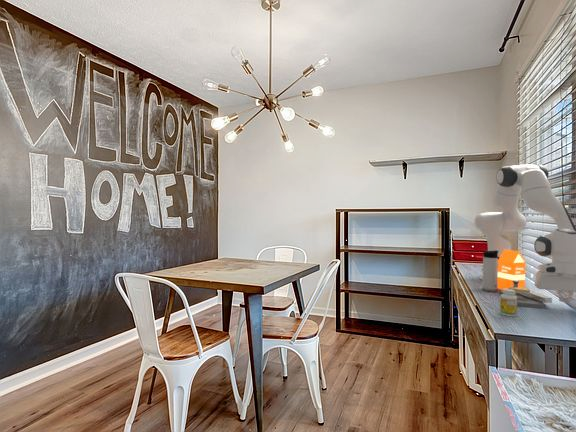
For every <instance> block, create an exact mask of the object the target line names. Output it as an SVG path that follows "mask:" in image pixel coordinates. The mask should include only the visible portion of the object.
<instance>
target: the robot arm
mask: <svg viewBox="0 0 576 432" xmlns="http://www.w3.org/2000/svg"><path fill="white" fill-rule="evenodd" d="M549 175H550V174H549V169H548V168H547V167H546V166H545V165H542V164H520V165H519V164H517V165H506V166H502V167H500V168H499V169H498V170H497V172H496V177H495V178H496V183H497V186H496V189H495V193H494V197H493V205H494V206H495V207H497V208H498V209H500V210H501V211H494V212H493V211H487V212H486V211H485V212H481V213H478V214H477V215H476V216H475V218H474V226H475V227H476V229H478V230H479V232H480V233H482V234H483V235H484V237H485V238H486V241H487V251H499V252H498V260H499V258H500V256H501V254H502V253H503V251H504V250H512V244H511V242H510V240H508V239H507V238H505V237H502V235H501V232H506V233H507V232H509V233H510V232H515V233H516V232H521V231H523V230H524V229H526V228H525V227H526V226H527V219H526V216H525V215H524V214H522V212H520V210H519V208H518V205H519V199H520V195H522V199H523V202H524V204H525V206H526V207H527V208H528V209H530V210H531V211H534V212H538V213H541V214H543V215H545V216H548V217H550V218H551V219H552V220H554V222H555V224H556V226H557V228H556V229H554V230H553V231H552V232H551V233H547V234H545V235H539V236H538V237H537V238H536V239H535V241H534V251H535V252H536V253H537V254H538V256H540V257H544V258H552V259H551V262H547V263H542V264H538V266H537V269H538V271H537V272H536V273H535V278H534V286H535V288H536V289H538V290H545V291H547V290H549V291H550V290H551V291H555V292H556V295H558V297H559V298H558V299H559V302H563V303H571V302H570V300H571V297H573V296H574V293H576V226H575V224H574V222H573V220H572V218H571V216H570V214H569V211H568V209H567V208H566V206H565V204H564V203H562V202H561V201H559V200H558V198H557V197H556V196H555V195H554V192H553V190H552V187H551V183H550V181H549ZM481 272H483V266H482V267H481ZM479 280H482V281H483V273H481V274H480V275H479ZM497 283H498V268H497ZM563 292H566V293H567V294H566V296H563V295H562V294H563Z"/></svg>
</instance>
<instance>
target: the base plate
mask: <svg viewBox="0 0 576 432" xmlns="http://www.w3.org/2000/svg"><path fill="white" fill-rule="evenodd" d="M499 294H500V295H502V294H504V293H503V290H502V289H499ZM516 297H517V307H524V308H525V307H527V308H533V309H534V308H535V309H536V308H537V309H545V310H547V303H544V302H541V301H538V300H535V299H532V298H529V297H526V296H523V295H521V294H518V293H516Z"/></svg>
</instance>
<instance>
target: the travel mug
mask: <svg viewBox="0 0 576 432" xmlns="http://www.w3.org/2000/svg"><path fill="white" fill-rule="evenodd" d="M498 252H499V251H488V250H485V251H483V253H482V255H483V257H482V267H483V271H482V274H483V280H482V290H483V291H485V292H492V293H493V292H494V293H495V292H497V291H498V282H497V268H498Z"/></svg>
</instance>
